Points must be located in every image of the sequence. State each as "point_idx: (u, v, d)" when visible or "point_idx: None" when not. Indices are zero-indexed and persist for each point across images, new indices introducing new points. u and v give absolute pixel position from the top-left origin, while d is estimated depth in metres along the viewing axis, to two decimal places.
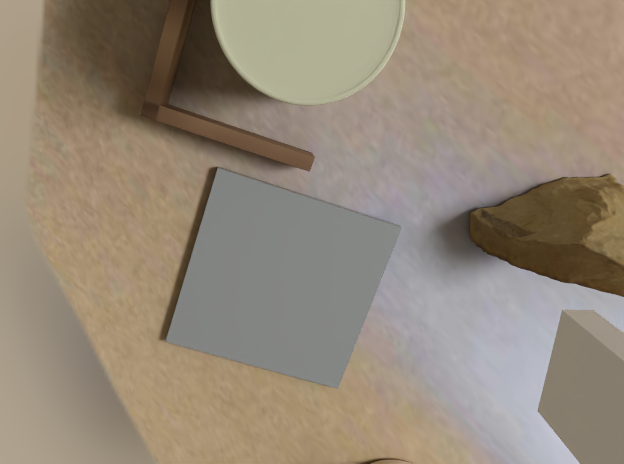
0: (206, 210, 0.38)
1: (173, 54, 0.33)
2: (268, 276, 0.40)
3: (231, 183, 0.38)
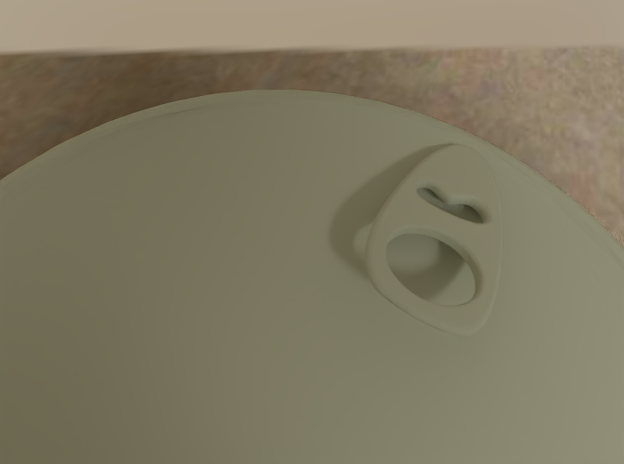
0: None
1: None
2: None
3: None
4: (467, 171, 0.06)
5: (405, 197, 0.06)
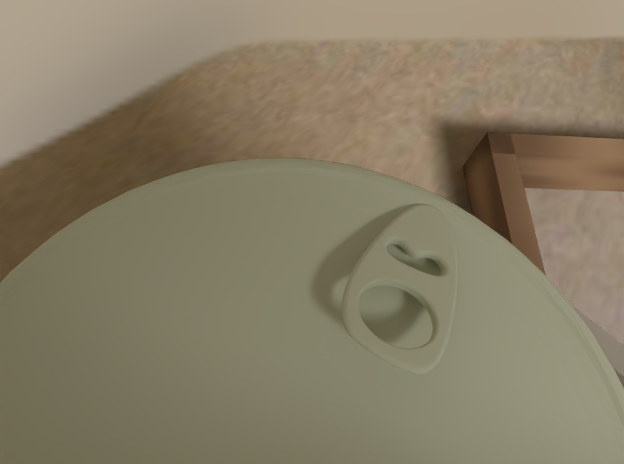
0: None
1: (590, 158, 0.22)
2: None
3: None
4: (430, 229, 0.08)
5: (376, 254, 0.07)
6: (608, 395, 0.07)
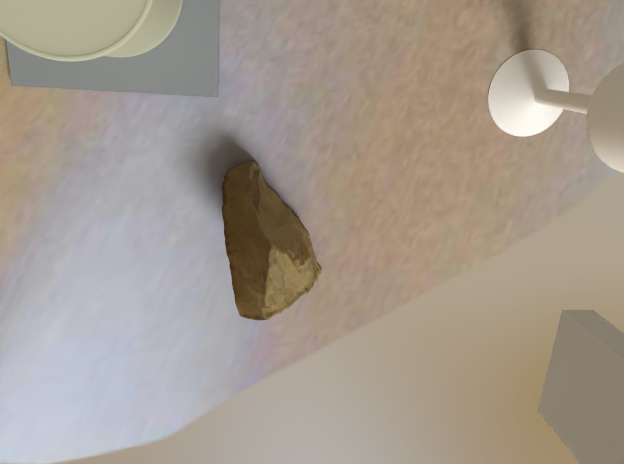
0: None
1: None
2: None
3: None
4: None
5: None
6: None
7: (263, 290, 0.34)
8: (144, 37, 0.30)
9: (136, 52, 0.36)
